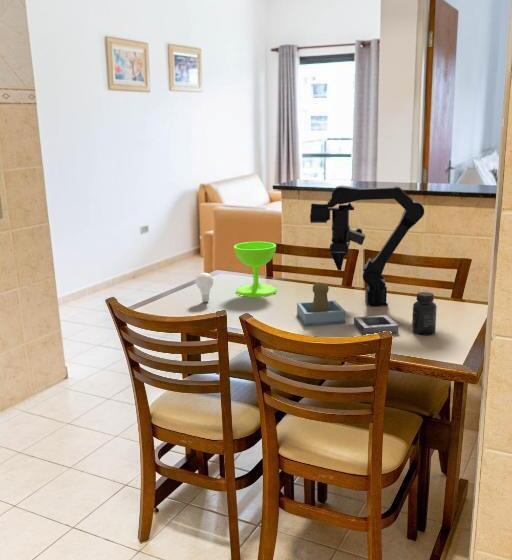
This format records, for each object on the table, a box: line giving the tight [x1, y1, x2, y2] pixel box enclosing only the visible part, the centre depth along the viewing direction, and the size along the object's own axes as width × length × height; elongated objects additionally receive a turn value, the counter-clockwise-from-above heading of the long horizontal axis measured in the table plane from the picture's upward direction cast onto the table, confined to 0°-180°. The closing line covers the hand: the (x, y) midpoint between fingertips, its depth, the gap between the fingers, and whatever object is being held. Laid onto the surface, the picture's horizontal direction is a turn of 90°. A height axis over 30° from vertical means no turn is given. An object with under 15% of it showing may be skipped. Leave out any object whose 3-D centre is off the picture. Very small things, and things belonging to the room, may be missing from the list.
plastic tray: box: [296, 299, 346, 327], centre depth 200 cm, size 13×13×4 cm
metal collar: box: [353, 314, 399, 336], centre depth 189 cm, size 11×11×2 cm
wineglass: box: [233, 241, 278, 298], centre depth 233 cm, size 16×16×18 cm
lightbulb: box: [195, 272, 214, 303], centre depth 222 cm, size 6×6×11 cm
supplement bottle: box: [411, 291, 438, 337], centre depth 184 cm, size 7×7×12 cm
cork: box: [312, 282, 330, 312], centre depth 199 cm, size 6×6×11 cm
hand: (340, 267), depth 214 cm, fingers open, 9 cm apart
